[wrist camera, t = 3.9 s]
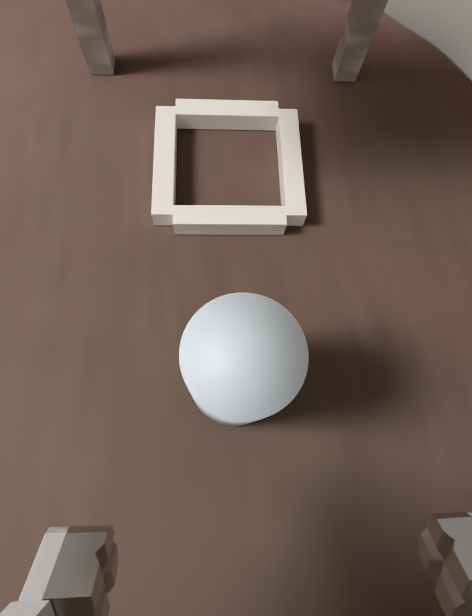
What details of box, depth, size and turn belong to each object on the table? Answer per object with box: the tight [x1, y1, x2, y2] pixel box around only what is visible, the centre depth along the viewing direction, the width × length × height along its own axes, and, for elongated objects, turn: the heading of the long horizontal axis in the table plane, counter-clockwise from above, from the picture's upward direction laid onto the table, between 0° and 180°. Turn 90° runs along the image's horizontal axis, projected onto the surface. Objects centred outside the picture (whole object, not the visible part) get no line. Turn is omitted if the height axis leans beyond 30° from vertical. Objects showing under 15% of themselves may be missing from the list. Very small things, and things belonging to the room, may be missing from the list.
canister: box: [179, 292, 309, 426], centre depth 17 cm, size 4×4×8 cm
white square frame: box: [151, 99, 307, 235], centre depth 24 cm, size 9×9×1 cm
